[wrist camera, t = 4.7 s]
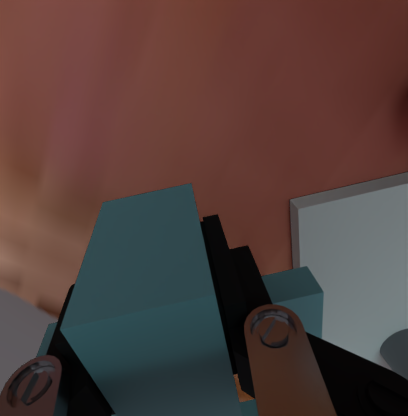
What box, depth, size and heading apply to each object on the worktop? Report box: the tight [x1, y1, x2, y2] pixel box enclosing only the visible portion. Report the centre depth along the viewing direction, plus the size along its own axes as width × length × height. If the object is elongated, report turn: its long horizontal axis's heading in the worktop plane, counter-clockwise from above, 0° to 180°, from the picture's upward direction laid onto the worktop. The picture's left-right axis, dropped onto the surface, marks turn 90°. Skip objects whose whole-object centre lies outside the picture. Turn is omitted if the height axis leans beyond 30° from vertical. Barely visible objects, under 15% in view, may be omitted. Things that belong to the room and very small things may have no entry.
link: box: [36, 183, 324, 416], centre depth 12 cm, size 16×11×5 cm
